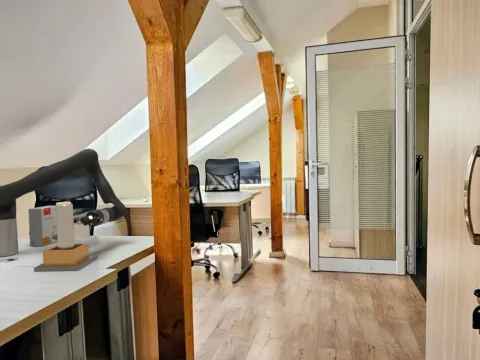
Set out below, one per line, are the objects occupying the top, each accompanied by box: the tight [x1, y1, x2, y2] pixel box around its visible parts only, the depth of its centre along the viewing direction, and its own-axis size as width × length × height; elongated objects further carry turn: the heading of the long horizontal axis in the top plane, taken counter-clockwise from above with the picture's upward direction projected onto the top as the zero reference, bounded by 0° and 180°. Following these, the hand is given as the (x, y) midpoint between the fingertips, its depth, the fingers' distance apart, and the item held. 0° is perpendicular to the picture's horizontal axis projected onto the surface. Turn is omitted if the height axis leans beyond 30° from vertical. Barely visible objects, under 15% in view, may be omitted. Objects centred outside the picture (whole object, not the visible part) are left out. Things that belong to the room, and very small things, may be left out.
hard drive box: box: [27, 205, 58, 247], centre depth 199 cm, size 16×8×20 cm, turn 171°
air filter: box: [55, 201, 76, 250], centre depth 154 cm, size 6×6×25 cm
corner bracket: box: [74, 221, 91, 241], centre depth 212 cm, size 11×11×12 cm
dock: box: [33, 242, 98, 273], centre depth 155 cm, size 18×18×8 cm
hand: (75, 223), depth 160 cm, fingers open, 8 cm apart
